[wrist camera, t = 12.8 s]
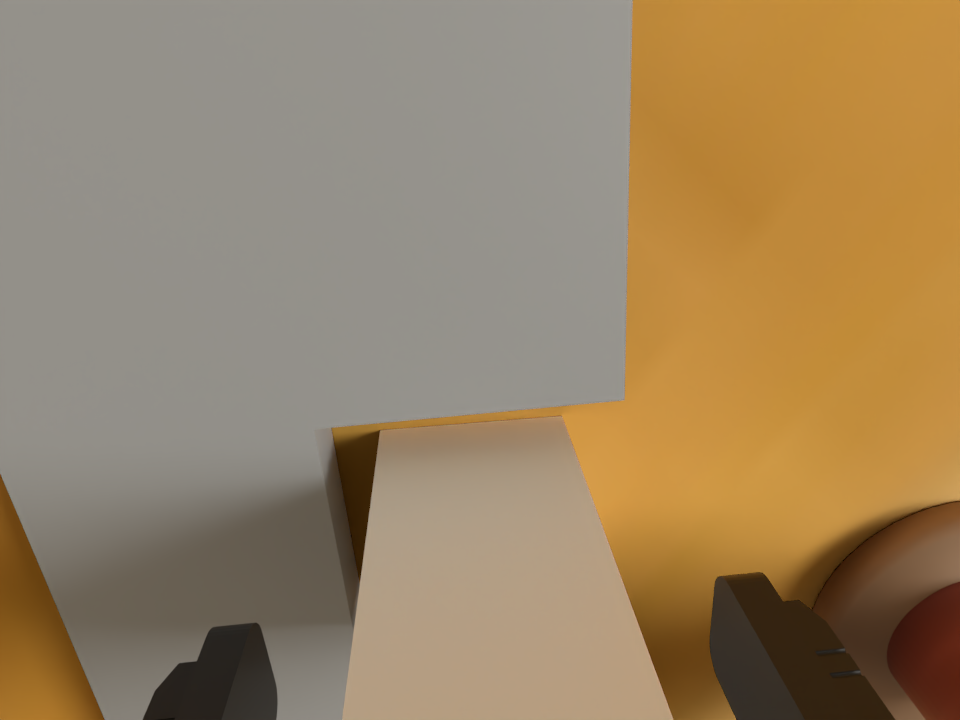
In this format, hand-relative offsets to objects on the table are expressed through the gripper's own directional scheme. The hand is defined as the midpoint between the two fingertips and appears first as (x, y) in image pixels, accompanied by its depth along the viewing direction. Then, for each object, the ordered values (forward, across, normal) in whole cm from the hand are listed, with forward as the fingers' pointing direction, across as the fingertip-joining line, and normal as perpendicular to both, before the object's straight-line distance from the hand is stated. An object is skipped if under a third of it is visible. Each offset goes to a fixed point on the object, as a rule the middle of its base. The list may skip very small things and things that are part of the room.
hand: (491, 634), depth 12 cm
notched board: (+4, +3, 0) cm, 5 cm away
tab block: (+4, 0, 0) cm, 4 cm away
